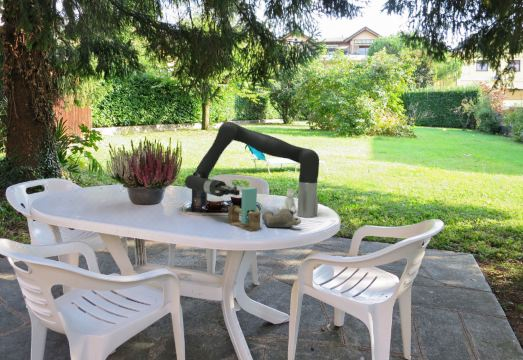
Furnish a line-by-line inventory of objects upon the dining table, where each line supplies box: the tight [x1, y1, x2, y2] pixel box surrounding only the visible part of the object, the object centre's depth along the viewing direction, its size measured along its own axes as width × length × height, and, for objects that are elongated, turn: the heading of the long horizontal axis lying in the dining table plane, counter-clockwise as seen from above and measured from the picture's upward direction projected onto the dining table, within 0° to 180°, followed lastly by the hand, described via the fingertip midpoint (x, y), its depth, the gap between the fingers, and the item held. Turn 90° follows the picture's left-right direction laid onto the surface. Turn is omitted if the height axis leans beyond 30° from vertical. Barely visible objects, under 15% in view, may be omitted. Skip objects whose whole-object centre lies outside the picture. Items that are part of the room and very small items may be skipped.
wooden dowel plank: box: [226, 204, 262, 233], centre depth 210 cm, size 18×6×8 cm, turn 41°
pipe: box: [261, 209, 302, 228], centre depth 212 cm, size 16×9×15 cm
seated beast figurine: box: [277, 188, 298, 214], centre depth 240 cm, size 10×9×12 cm
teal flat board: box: [240, 186, 258, 224], centre depth 206 cm, size 2×6×16 cm, turn 131°
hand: (238, 192), depth 210 cm, fingers closed
